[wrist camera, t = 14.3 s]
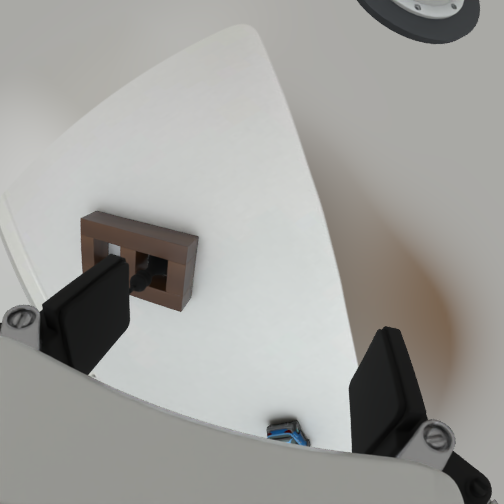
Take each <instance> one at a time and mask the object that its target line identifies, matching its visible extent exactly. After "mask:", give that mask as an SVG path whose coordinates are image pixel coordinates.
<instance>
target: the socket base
mask: <svg viewBox="0 0 504 504" xmlns="http://www.w3.org/2000/svg"><path fill="white" fill-rule="evenodd" d="M108 243H111V244H115V245H118V246H121V247H120V257H123V258H125V259H126V263H128V264H129V288H130V279H131V277H132V276H133V275H135V274H136V273H137V271H139V270H145V269H146V268H147V267H148V254H149V255H152V256H156V257H159V258H163V259H166V260H168V268H167V276H164V275H154V276H153V277H152V281H151V284H150V285H149V286H147V287H146V289H145V290H144V291H142V292H136V291H134V290H133V291H132V293H131V294H130V295H131V296H134V297H137V298H140V299H143V300H146V301H149V302H152V303H155V304H158V305H161V306H164V307H167V308H170V309H174V310H177V311H180V312H181V311H182V310H183V309H184V307H185V306H186V304H187V303H188V301H189V300H190V298H191V293H192V283H193V276H194V268H195V260H196V252H197V245H198V236H194V235H190V234H186V233H182V232H178V231H174V230H170V229H166V228H162V227H158V226H154V225H150V224H146V223H142V222H138V221H134V220H130V219H126V218H122V217H118V216H114V215H110V214H106V213H103V212H99V211H95V212H93V213H91V214H89V215H87V216H84V217H82V218H81V253H82V269H83V273H84V272H86V271H87V270H89V269H90V268H91V267H93V266H94V265H96V264H97V263H98V262H100V261H101V260H103V259H104V258H106V257H107V256H108Z"/></svg>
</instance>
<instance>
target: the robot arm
mask: <svg viewBox="0 0 504 504" xmlns="http://www.w3.org/2000/svg"><path fill="white" fill-rule="evenodd" d="M391 1H393V2H394V3H395V4H397V5H398V6H399V7H401V8H403V9H405V10H406V11H408V12H410V13H413V14H415V15H417V16H421V17H424V18H429V19H445V18H449V17H451V16H453V15H454V14H456V13H457V12H458V11H459V10H460V9H461V7H462V6H463V2H464V0H391ZM415 8H416V9H415ZM42 307H43V310H41V311H40V312H39V311H38V309H37V308H35V307H34V306H30V305H19V306H15V307H13V308H11V309H10V310H8V311H7V312H6V313H5V315H4V317H3V321H2V323H0V504H498V503H497V501H496V500H495V499H494V500H493V501H492V502H491V500H490V498H491V494H492V488H491V484H490V482H489V480H488V479H487V478H486V477H485V476H484V475H483V474H482V473H481V472H479V471H478V470H477V469H475V468H474V467H473V466H472V465H470V464H469V463H468V462H467V461H465V460H464V459H463V458H461V457H460V456H459V455H458V454H456V453H455V452H454V451H453V449H454V447H455V444H456V441H455V436H454V433H453V431H452V430H451V428H450V427H449V426H447V425H446V424H445V423H443V422H441V421H439V420H434V419H433V420H432V419H431V420H428V419H427V415H426V410H425V406H424V402H423V399H422V395H421V392H420V389H419V385H418V382H417V379H416V376H415V372H414V370H413V366H412V363H411V360H410V357H409V354H408V351H407V348H406V345H405V343H404V340H403V337H402V334H401V331H400V330H399V329H396V328H391V327H386V326H385V327H384V328H383V329H382V330H381V329H379V330H378V331H377V332H376V335H375V336H374V338H373V340H372V342H371V344H370V346H369V348H368V350H367V352H366V354H365V356H364V358H363V360H362V362H361V364H360V365H359V367H358V369H357V371H356V373H355V374H354V376H353V378H352V380H351V382H350V385H349V400H350V416H351V438H352V453H350V452H342V451H335V450H328V449H321V448H315V447H309V446H303V445H297V444H292V443H286V442H281V441H277V440H272V439H267V438H263V437H259V436H255V435H250V434H246V433H242V432H239V431H235V430H231V429H227V428H224V427H220V426H217V425H213V424H210V423H207V422H204V421H200V420H197V419H194V418H191V417H188V416H185V415H182V414H179V413H176V412H173V411H171V410H168V409H165V408H162V407H160V406H157V405H154V404H152V403H149V402H147V401H144V400H142V399H139V398H137V397H134V396H132V395H129V394H127V393H125V392H122V391H120V390H118V389H115V388H113V387H111V386H109V385H107V384H104V383H102V382H100V381H98V380H96V379H94V378H92V377H90V376H88V375H89V373H90V372H91V371H92V370H93V369H94V367H95V366H96V365H97V364H98V362H99V361H100V360H101V359H102V358H103V356H104V355H105V354H106V353H107V352H108V351H109V349H110V348H111V347H112V346H113V345H114V343H115V342H116V341H117V340H118V339H119V338H120V336H121V335H122V334H123V333H124V332H125V331H126V329H127V328H128V326H129V323H130V308H129V264H128V263H126V259H125V258H123V257H120V256H117V255H113V254H110V255H108V256H107V257H106V258H104V259H103V260H101V261H100V262H98V263H97V264H96V265H94V266H93V267H91V268H90V269H89V270H87V271H86V272H84V273H83V274H82V275H80V276H79V277H78V278H76V279H75V280H74V281H72V282H71V283H69V284H68V285H67V286H65V287H64V288H63V289H61V290H60V291H59V292H58V293H56V294H55V295H54V296H52V297H51V298H50V299H48V300H47V301H46V302H45V303H43V304H42Z"/></svg>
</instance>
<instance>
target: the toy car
mask: <svg viewBox="0 0 504 504" xmlns="http://www.w3.org/2000/svg"><path fill="white" fill-rule="evenodd" d="M267 437H268V438H267V439H272V440H277V441H281V442H286V443H292V444H297V445H303V446H309V447H310V442H309V440H308V439H307V440H306V439H305V437H304V435H303V433H302V431H301V430H300V426H299V423H298V421H292V423H285V424H280V425H269V426H268V427H267Z"/></svg>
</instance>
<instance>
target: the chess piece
mask: <svg viewBox="0 0 504 504" xmlns="http://www.w3.org/2000/svg"><path fill="white" fill-rule="evenodd" d="M167 268H168V260H166V259H163V258H159V257H156V256H152V255H149V258H148V267H147V268H146V269H145V270H139V271H137V273H136V274H135V275H133V276H132V277H131V279H130V288H129V295H130V294H131V293H132V291H133V290H134V291H136V292H142V291H144V290H145V289H146V287H147V286H149V285H150V284H151V281H152V277H153V276H154V275H167Z"/></svg>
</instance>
